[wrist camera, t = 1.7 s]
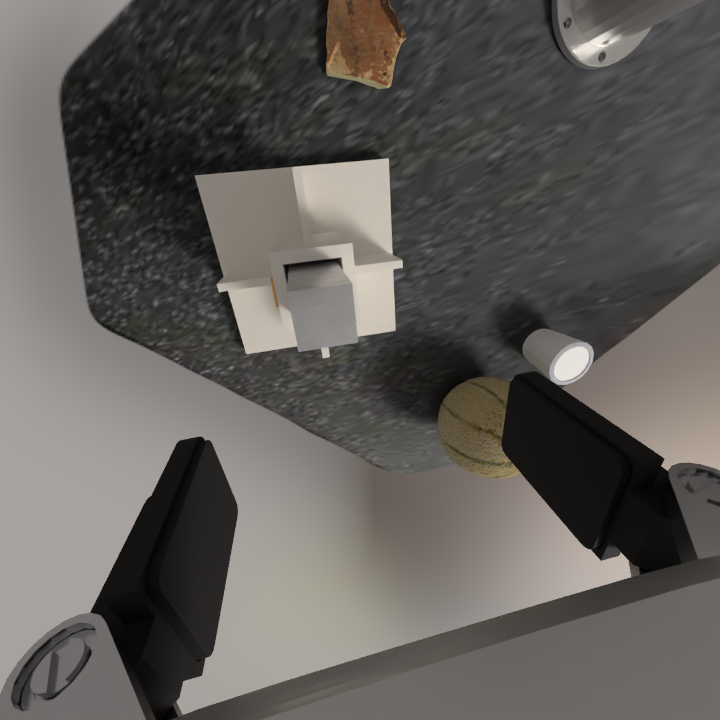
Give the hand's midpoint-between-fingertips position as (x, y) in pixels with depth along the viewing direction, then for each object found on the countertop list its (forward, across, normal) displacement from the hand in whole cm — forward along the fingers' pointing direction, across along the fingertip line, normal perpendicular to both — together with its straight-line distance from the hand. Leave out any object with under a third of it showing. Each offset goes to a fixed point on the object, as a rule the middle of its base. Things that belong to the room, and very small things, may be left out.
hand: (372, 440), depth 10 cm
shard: (+33, -7, -21) cm, 40 cm away
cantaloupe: (+33, -22, +25) cm, 47 cm away
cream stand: (+33, 0, 0) cm, 33 cm away
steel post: (+30, 0, 0) cm, 30 cm away
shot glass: (+33, -34, +17) cm, 50 cm away
